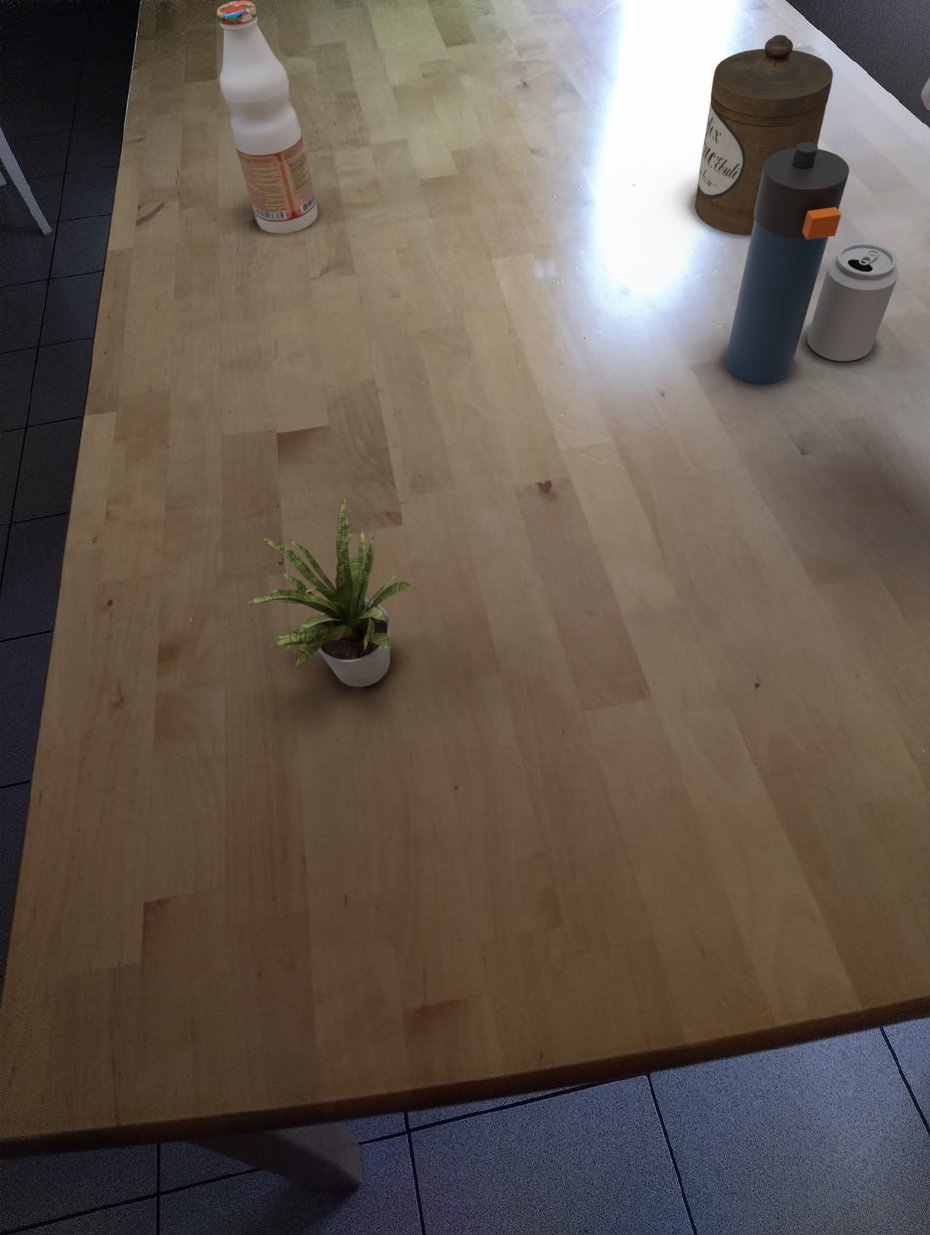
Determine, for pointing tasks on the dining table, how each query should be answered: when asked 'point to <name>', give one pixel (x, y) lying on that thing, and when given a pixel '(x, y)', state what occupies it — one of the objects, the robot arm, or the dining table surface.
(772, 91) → the wooden container
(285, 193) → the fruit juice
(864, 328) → the can
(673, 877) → the dining table surface
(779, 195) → the bottle
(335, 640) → the house plant
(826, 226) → the orange block
